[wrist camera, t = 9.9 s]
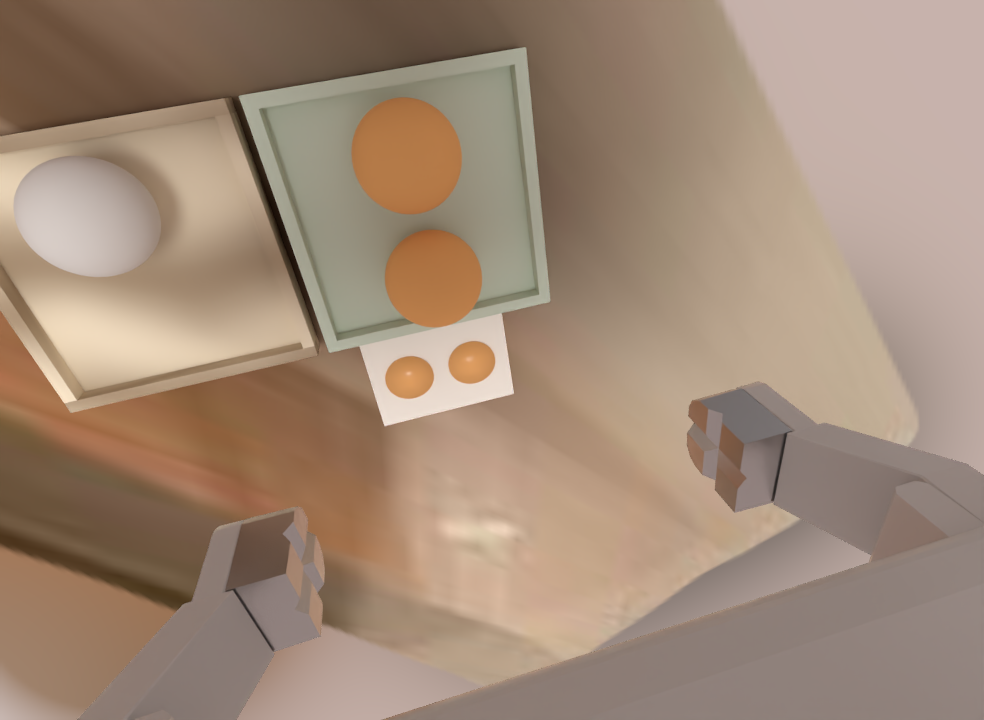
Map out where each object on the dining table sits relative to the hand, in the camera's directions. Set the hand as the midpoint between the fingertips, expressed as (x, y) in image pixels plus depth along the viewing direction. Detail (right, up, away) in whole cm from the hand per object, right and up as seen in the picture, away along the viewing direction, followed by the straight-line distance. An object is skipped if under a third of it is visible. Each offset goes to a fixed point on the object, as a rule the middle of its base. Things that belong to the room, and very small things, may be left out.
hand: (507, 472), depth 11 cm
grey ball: (-14, +8, +9) cm, 19 cm away
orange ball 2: (-3, +7, +13) cm, 15 cm away
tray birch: (-14, +6, +11) cm, 19 cm away
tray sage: (-4, +9, +12) cm, 15 cm away
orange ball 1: (-4, +11, +10) cm, 15 cm away
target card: (-3, +2, +16) cm, 16 cm away
